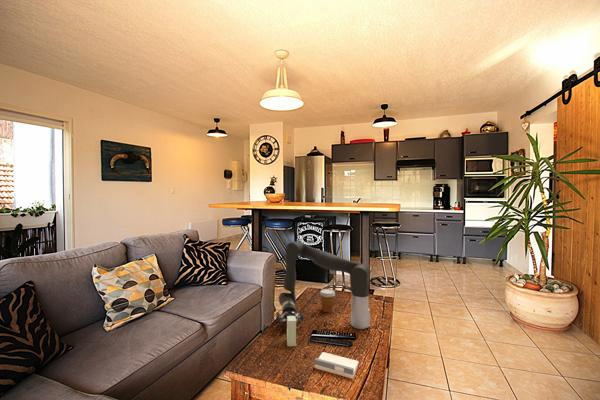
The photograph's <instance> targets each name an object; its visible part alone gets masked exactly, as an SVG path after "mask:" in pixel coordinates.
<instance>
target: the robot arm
mask: <svg viewBox="0 0 600 400" xmlns="http://www.w3.org/2000/svg"><path fill="white" fill-rule="evenodd" d="M298 257H303V258H307V259H309V260H311V261H312V262H313V263H314V264H315V265H317V266H319V267H321V268H323V269H326V270H329V271H332V272H333V271H335V272H341V273H342V272H343V273H346V274H349V275H350V282H349V283H350V292H351V297H350V298H351V302H350V303H351V305H350V307H351V308H350V315H351V316H350V325H351V327H353V328H354V329H358V330H365V329H367V328H369V327H370V324H371V323H370V321H371V319H370V317H371V315H370V314H371V310H370V308H369V296H370V294H369V289H368V279H369V278H370V276H371V269H370V268H369V267H368V265H366V264H365V263H364V264H363V263H360V262H356V261H353V260H352V261H351V260H350V259H349V260H348V259H345V258H343V257H341V256H338V255H335V254H333V253H331V252H327V251H325V250H321V249H319V248H315V247H312V246H310V245H308V244H305V243H303V242H302V241H298V240H297V241H295V240H294V241H291V242H288V244H287V245H286V248H285V275H284V282H283V289H284V290H286V291H289V292H280V294H279V296H278V303H279V305H281V313H280V312H276V317H275V318H276V319H275V321H276V323H277V322H279V325H281V326H283V325H284V322H285V321H287V316H295V317H296V322H297V325H300V324H301V323H302V322H303V321H304V313H303V312H302V311H300V312H297V310H296V305H295V304H296V301H297V298H296V282H297V272H296V271H297V270H296V263H297V262H296V261H297V258H298Z"/></svg>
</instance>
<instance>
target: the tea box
mask: <svg viewBox="0 0 600 400" xmlns="http://www.w3.org/2000/svg"><path fill="white" fill-rule="evenodd" d="M286 346H287V347H297V321H296V317H295V316H287V320H286Z"/></svg>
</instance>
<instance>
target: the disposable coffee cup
mask: <svg viewBox="0 0 600 400" xmlns="http://www.w3.org/2000/svg"><path fill="white" fill-rule="evenodd" d="M319 295H320V303H321V310H322V312H324V313H332V312H333V308H334V302H335V301H334V300H335V296H336V292H335V290H333V289H331V288H323V289H321V290H320V292H319Z"/></svg>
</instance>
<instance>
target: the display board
mask: <svg viewBox="0 0 600 400" xmlns="http://www.w3.org/2000/svg"><path fill="white" fill-rule="evenodd" d="M358 367H359V360H357V359H352V358H347V357H343V356H340V355H336V354H332V353H327V352H324V351H322V352H321V354H320V355H319V356H318V357H315V359H314V369H317V370H320V371H325V372H326V373H327V372H328V373H331V374H334V375H339V376H342V377H346V378H349V379H352V380H353V379H354V377H355V374H356V372H357V370H358Z"/></svg>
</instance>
